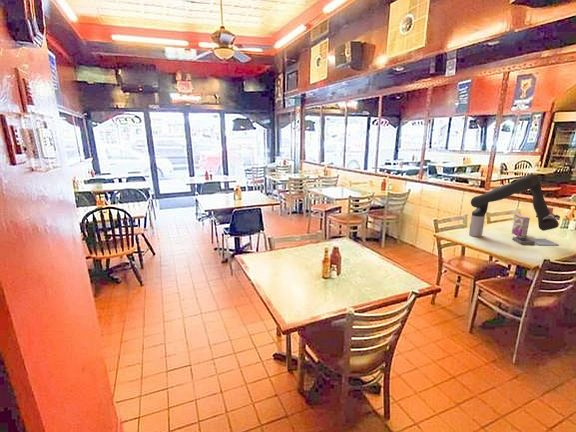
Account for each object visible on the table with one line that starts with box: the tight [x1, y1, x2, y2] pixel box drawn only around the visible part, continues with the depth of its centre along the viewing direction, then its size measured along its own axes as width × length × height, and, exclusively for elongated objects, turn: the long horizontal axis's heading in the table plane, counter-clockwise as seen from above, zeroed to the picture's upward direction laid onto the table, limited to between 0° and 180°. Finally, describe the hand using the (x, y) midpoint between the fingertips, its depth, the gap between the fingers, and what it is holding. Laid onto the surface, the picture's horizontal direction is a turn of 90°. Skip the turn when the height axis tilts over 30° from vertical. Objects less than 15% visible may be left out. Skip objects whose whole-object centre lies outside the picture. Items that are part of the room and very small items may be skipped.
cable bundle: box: [547, 206, 554, 214], centre depth 234 cm, size 5×5×14 cm
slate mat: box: [530, 238, 559, 246], centre depth 239 cm, size 14×14×1 cm
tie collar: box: [512, 235, 536, 245], centre depth 241 cm, size 12×10×2 cm
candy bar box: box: [511, 213, 531, 237], centre depth 255 cm, size 11×5×16 cm, turn 179°
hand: (547, 214), depth 235 cm, fingers closed on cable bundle, 5 cm apart
